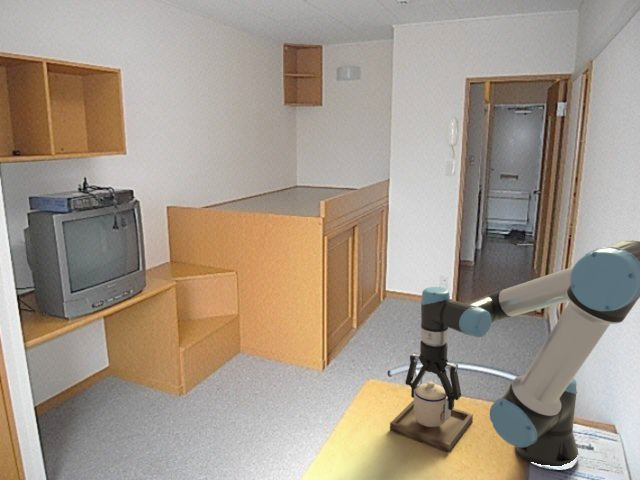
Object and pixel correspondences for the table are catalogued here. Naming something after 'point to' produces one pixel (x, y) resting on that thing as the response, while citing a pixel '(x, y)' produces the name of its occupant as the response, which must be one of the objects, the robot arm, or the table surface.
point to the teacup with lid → (430, 404)
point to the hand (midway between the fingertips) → (431, 413)
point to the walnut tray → (432, 428)
